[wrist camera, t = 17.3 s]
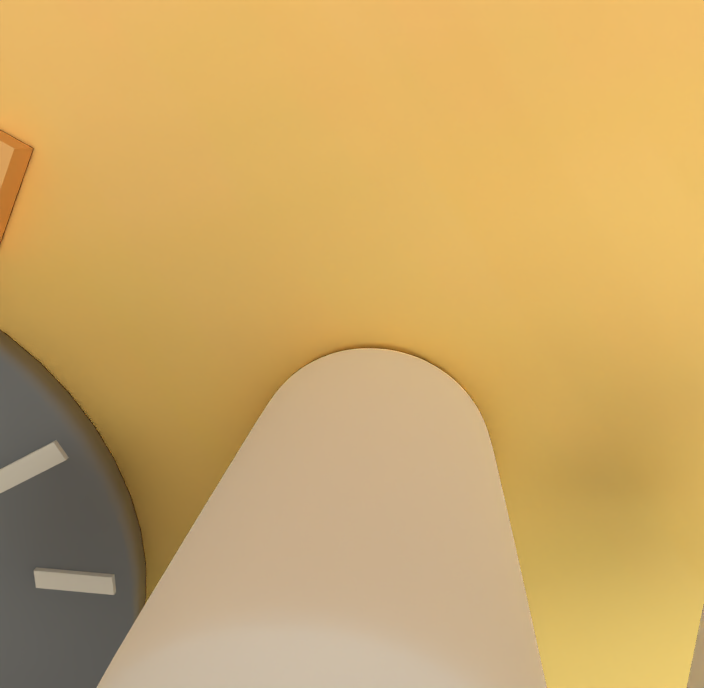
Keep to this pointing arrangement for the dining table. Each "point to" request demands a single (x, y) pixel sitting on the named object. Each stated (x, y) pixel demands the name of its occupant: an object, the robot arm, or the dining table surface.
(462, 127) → the dining table surface
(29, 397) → the dial plate
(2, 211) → the small orange block
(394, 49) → the dining table surface
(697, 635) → the robot arm
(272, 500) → the can
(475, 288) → the dining table surface
